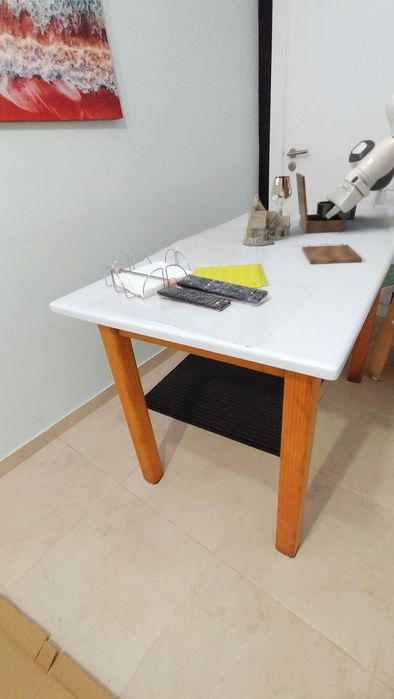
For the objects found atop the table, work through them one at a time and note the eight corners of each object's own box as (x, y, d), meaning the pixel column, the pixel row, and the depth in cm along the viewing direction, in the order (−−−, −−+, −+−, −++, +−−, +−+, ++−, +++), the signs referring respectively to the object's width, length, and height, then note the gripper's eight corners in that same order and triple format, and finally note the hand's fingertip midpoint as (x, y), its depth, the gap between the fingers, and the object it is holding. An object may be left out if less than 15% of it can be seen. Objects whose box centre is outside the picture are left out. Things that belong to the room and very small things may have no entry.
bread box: (335, 226, 131) (336, 212, 128) (344, 234, 120) (346, 220, 117) (299, 227, 132) (300, 215, 129) (305, 236, 121) (306, 222, 119)
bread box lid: (298, 172, 122) (295, 173, 122) (304, 176, 111) (302, 176, 111) (301, 213, 129) (299, 214, 129) (307, 220, 119) (305, 221, 119)
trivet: (347, 247, 106) (347, 244, 106) (361, 262, 95) (362, 258, 94) (301, 250, 108) (301, 246, 107) (310, 264, 96) (310, 260, 96)
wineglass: (279, 230, 131) (282, 178, 122) (264, 227, 137) (266, 177, 128) (294, 226, 135) (298, 176, 125) (279, 223, 141) (282, 175, 131)
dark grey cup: (330, 226, 128) (334, 200, 123) (335, 230, 122) (338, 203, 118) (313, 227, 128) (315, 201, 124) (316, 231, 123) (319, 204, 118)
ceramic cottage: (237, 244, 117) (240, 197, 110) (251, 234, 130) (255, 192, 122) (281, 250, 112) (288, 201, 104) (292, 239, 124) (299, 194, 116)
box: (332, 222, 136) (336, 193, 130) (333, 219, 140) (337, 191, 134) (354, 222, 133) (359, 193, 127) (353, 219, 137) (358, 191, 132)
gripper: (342, 174, 124) (312, 204, 131) (360, 180, 107) (324, 214, 114) (352, 186, 126) (322, 215, 133) (372, 194, 109) (336, 227, 115)
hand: (323, 215), depth 123 cm, fingers closed on dark grey cup, 6 cm apart
